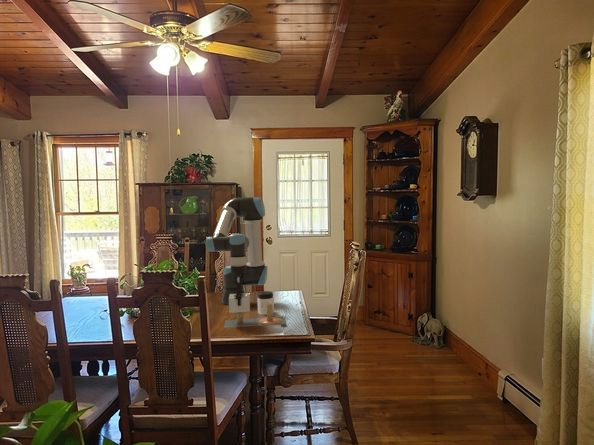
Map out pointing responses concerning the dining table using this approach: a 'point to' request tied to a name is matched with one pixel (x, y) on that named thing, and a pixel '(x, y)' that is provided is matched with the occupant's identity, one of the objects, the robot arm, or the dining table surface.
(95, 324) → the dining table surface
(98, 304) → the dining table surface
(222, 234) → the robot arm
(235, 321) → the post board
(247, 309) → the collar
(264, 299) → the jar
